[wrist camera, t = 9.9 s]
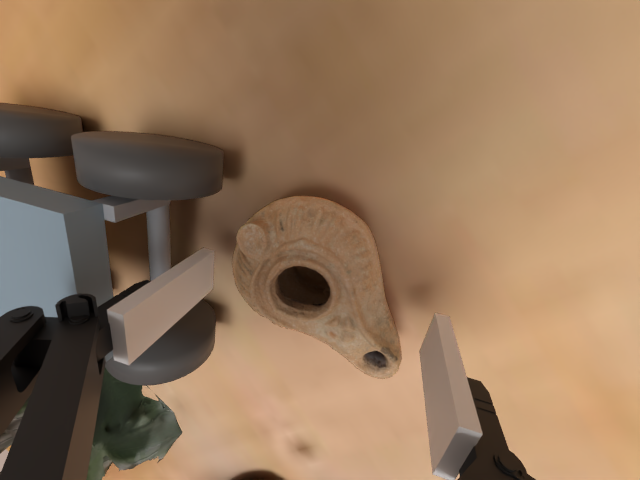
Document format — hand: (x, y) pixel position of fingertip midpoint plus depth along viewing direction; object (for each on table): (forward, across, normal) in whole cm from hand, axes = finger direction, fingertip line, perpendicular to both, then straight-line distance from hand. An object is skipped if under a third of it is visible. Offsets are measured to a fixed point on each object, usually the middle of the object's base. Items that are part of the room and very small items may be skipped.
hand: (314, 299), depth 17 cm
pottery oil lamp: (+4, 0, 0) cm, 4 cm away
